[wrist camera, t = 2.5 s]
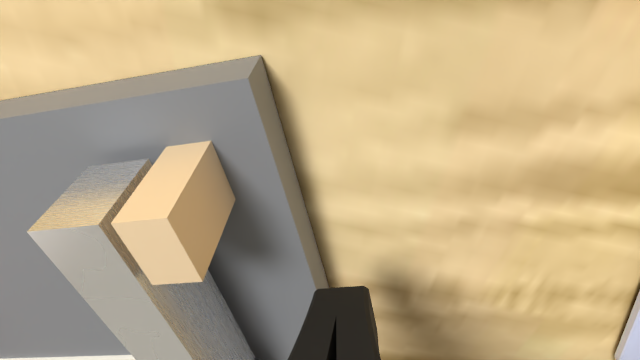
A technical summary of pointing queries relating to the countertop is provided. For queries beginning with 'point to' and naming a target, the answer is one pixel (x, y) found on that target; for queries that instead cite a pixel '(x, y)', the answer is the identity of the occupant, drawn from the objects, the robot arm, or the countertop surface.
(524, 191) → the countertop surface
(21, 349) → the plate
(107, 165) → the lock bar
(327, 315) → the robot arm
